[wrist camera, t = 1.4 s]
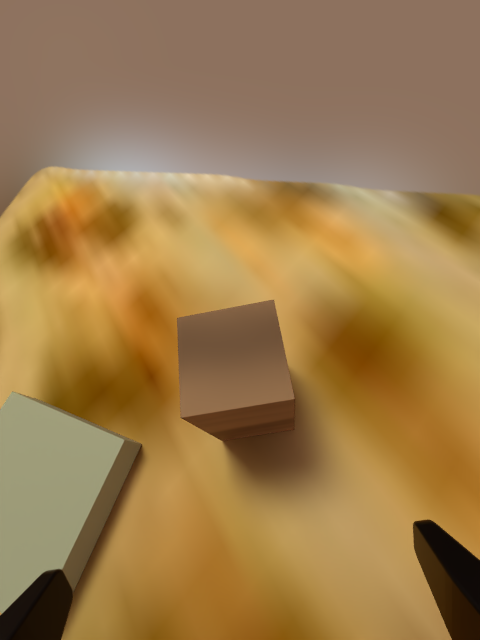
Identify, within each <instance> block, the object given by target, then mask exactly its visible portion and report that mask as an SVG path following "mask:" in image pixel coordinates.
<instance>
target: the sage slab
mask: <svg viewBox="0 0 480 640" xmlns="http://www.w3.org/2000/svg"><path fill="white" fill-rule="evenodd" d="M141 445H142V444H141V443H138V442H136V441H134V440H131V439H129V438H127V437H124V436H122V435H120V434H117V433H115V432H113V431H110V430H108V429H106V428H103V427H101V426H99V425H96V424H94V423H92V422H89V421H87V420H85V419H82V418H80V417H78V416H75V415H73V414H71V413H68V412H66V411H64V410H61V409H59V408H57V407H54V406H52V405H50V404H47V403H45V402H43V401H40V400H38V399H35V398H32V397H29V396H25V395H22V394H19V393H16V392H13V391H12V393H11V394H10V396H9V397H8V399H7V400H6V402H5V403H4V405H3V406H2V408H1V409H0V612H1V613H3V612H4V611H5V610H6V609H7V608H8V607H9V606H10V605H11V604H12V603H13V602H14V601H15V600H16V599H17V598H18V597H19V596H20V595H21V594H22V593H23V592H24V591H25V590H26V589H27V588H28V587H29V586H30V585H31V584H32V583H33V582H34V581H35V580H36V579H37V578H38V577H39V576H40V575H41V574H42V573H43V572H45V571H47V570H54V569H61V570H63V572H64V574H65V576H66V577H67V579H68V581H69V583H70V585H71V587H72V590H73V592H74V590H75V588H76V585H77V583H78V581H79V579H80V577H81V575H82V572H83V570H84V568H85V566H86V564H87V562H88V559H89V557H90V555H91V553H92V551H93V549H94V546H95V544H96V542H97V540H98V538H99V536H100V533H101V531H102V529H103V527H104V525H105V523H106V520H107V518H108V516H109V514H110V512H111V510H112V507H113V505H114V503H115V501H116V499H117V497H118V494H119V492H120V490H121V488H122V486H123V484H124V481H125V479H126V477H127V475H128V473H129V471H130V468H131V466H132V464H133V462H134V460H135V458H136V455H137V453H138V451H139V449H140V447H141Z"/></svg>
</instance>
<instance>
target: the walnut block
mask: <svg viewBox="0 0 480 640" xmlns="http://www.w3.org/2000/svg"><path fill="white" fill-rule="evenodd" d="M177 328H178V355H179V383H180V410H181V418H182V419H184V420H186V421H187V422H189V423H191V424H193V425H195V426H196V427H198V428H200V429H202V430H204V431H205V432H207V433H209V434H211V435H213V436H214V437H216V438H218V439H220V440H221V441H225V440H231V439H238V438H244V437H250V436H257V435H263V434H269V433H276V432H282V431H288V430H294V414H295V398H294V393H293V388H292V383H291V379H290V374H289V369H288V364H287V360H286V355H285V350H284V346H283V341H282V336H281V331H280V327H279V322H278V317H277V313H276V308H275V303H274V300H269V301H264V302H259V303H254V304H248V305H243V306H238V307H232V308H227V309H222V310H217V311H211V312H206V313H201V314H195V315H190V316H185V317H180V318H177Z"/></svg>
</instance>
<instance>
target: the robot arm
mask: <svg viewBox="0 0 480 640" xmlns="http://www.w3.org/2000/svg"><path fill="white" fill-rule="evenodd" d="M413 536H414V549H415V553H416V556H417V558H418V561H419V563H420V565H421V568H422V570H423V572H424V575H425V577H426V580H427V582H428V584H429V587H430V589H431V591H432V594H433V596H434V599H435V601H436V603H437V606H438V608H439V610H440V613H441V615H442V618H443V620H444V622H445V625H446V627H447V629H448V632H449V634H450V636H451V638H452V640H480V560H479V559H478V558H477V557H475V556H474V555H473V554H472V553H471V552H469V551H468V550H467V549H466V548H465V547H463V546H462V545H461V544H460V543H459V542H457V541H456V540H455V539H454V538H453V537H452V536H450V535H449V534H448V533H447V532H446V531H444V530H443V529H442V528H441V527H440V526H438V525H437V524H436V523H435V522H433V521H431V520H421V521H415V522H414V523H413ZM72 598H73V590H72V587H71V585H70V583H69V581H68V579H67V577H66V576H65V574H64V572H63V570H61V569H54V570H47V571H45V572H43V573H42V574H41V575H40V576H39V577H38V578H37V579H36V580H35V581H34V582H33V583H32V584H31V585H30V586H29V587H28V588H27V589H26V590H25V591H24V592H23V593H22V594H21V595H20V596H19V597H18V598H17V599H16V600H15V601H14V602H13V603H12V604H11V605H10V606H9V607H8V608H7V609H6V610H5V611H4V612H3V613H2V614H1V615H0V640H61V638H62V634H63V631H64V627H65V624H66V620H67V617H68V613H69V610H70V606H71V603H72Z"/></svg>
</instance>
